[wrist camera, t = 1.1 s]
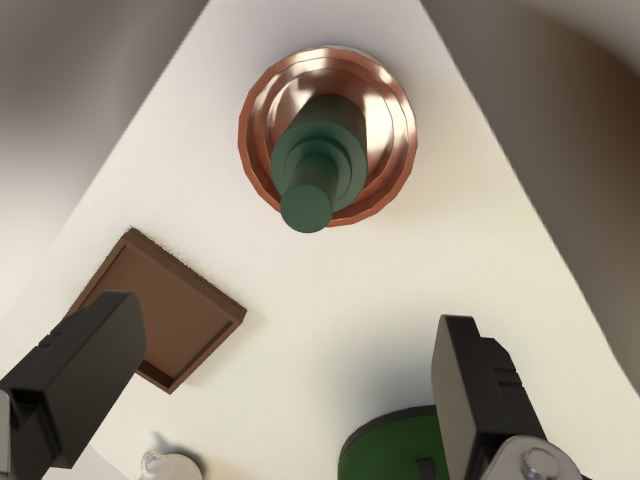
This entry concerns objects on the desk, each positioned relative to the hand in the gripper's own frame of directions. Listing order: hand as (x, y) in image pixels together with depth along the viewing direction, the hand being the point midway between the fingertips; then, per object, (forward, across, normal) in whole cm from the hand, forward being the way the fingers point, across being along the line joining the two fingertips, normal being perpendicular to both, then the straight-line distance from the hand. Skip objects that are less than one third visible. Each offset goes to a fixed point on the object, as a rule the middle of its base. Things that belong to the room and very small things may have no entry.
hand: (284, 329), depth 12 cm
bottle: (+25, 0, 0) cm, 25 cm away
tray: (+25, +17, +19) cm, 36 cm away
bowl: (+25, 0, 0) cm, 25 cm away
